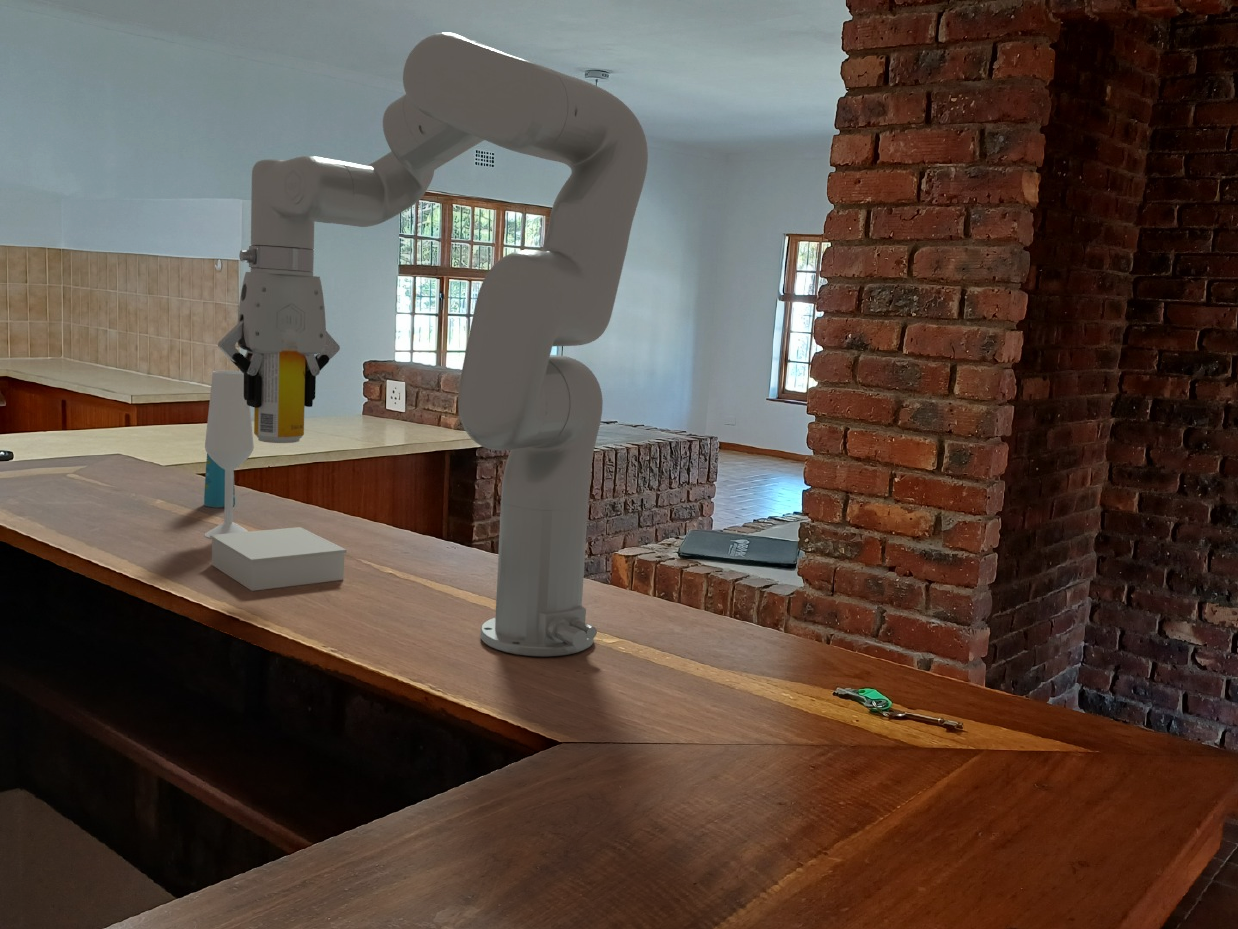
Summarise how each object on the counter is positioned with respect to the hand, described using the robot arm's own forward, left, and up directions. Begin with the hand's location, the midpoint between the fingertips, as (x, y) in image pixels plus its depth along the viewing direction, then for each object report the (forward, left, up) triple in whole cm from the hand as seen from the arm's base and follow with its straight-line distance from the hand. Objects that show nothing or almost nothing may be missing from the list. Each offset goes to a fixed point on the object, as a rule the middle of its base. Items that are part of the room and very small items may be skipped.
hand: (279, 404), depth 139 cm
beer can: (0, 0, -5) cm, 5 cm away
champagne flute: (+23, -2, -22) cm, 32 cm away
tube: (+44, -8, -22) cm, 50 cm away
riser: (0, 0, -22) cm, 22 cm away
